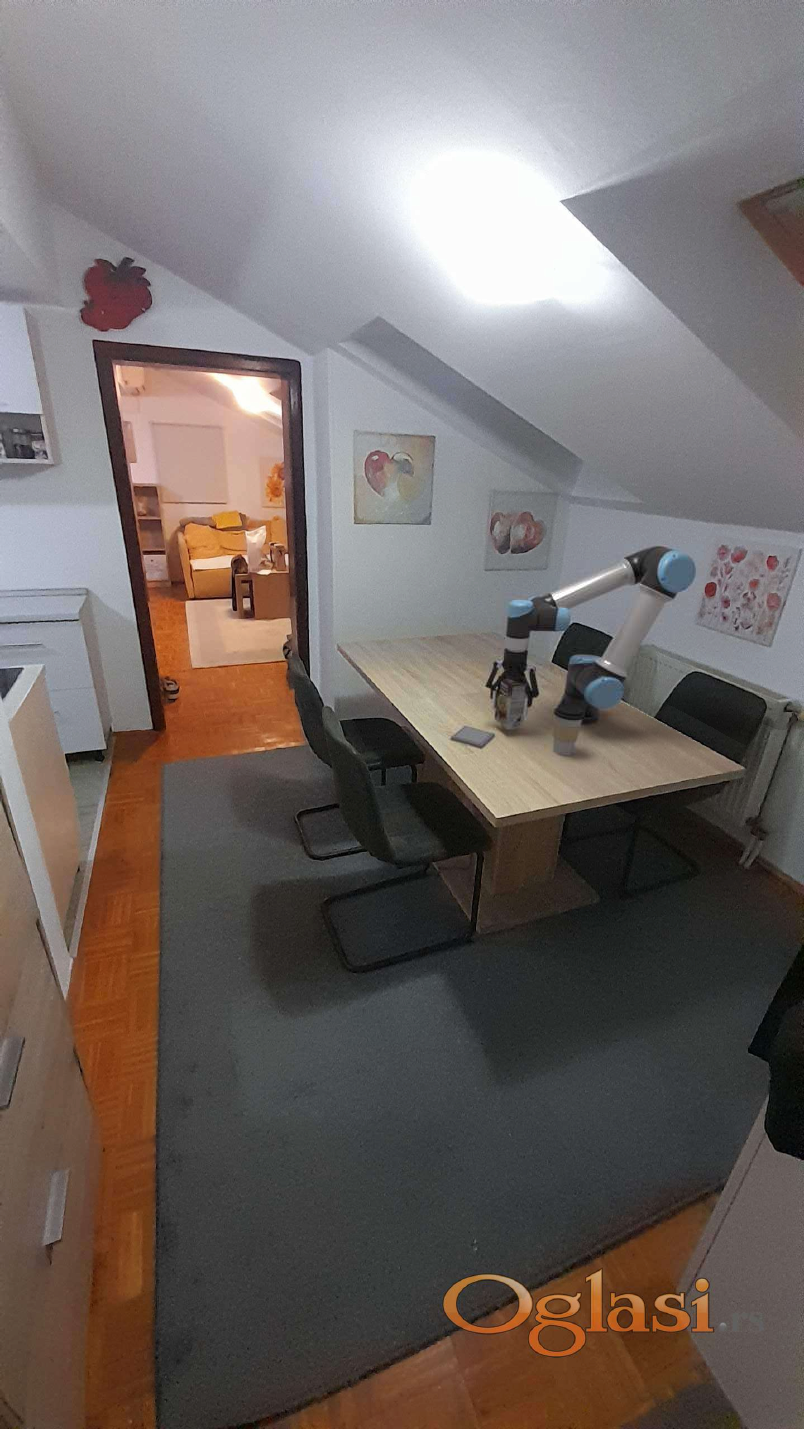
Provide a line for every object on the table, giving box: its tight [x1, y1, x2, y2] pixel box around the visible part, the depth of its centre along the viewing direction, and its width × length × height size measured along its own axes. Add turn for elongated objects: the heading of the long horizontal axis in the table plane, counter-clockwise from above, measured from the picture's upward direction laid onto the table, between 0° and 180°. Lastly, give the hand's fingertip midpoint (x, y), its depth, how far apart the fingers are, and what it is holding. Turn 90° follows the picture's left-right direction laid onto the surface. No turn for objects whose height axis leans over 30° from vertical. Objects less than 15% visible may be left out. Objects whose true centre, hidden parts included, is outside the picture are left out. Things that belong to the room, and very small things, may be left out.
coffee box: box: [494, 675, 529, 730], centre depth 197 cm, size 9×6×16 cm
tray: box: [450, 725, 495, 749], centre depth 194 cm, size 11×11×1 cm
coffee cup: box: [552, 704, 585, 756], centre depth 185 cm, size 9×9×15 cm
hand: (509, 711), depth 198 cm, fingers closed on coffee box, 10 cm apart
